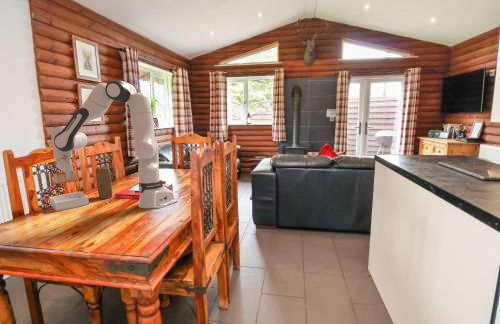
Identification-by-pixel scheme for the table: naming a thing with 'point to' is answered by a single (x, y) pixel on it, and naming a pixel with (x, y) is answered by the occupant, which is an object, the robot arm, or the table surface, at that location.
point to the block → (104, 182)
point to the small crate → (62, 179)
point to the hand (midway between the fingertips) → (66, 178)
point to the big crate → (68, 201)
